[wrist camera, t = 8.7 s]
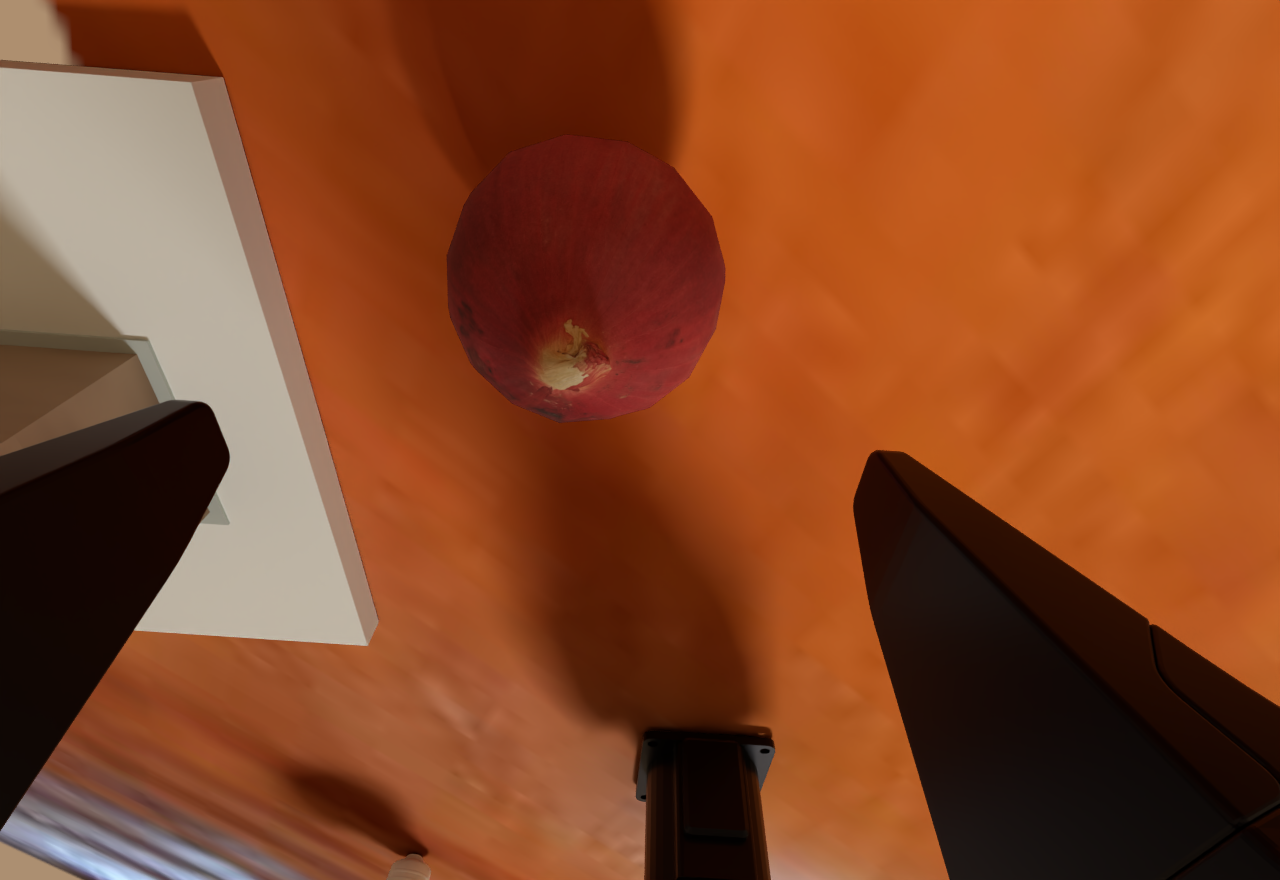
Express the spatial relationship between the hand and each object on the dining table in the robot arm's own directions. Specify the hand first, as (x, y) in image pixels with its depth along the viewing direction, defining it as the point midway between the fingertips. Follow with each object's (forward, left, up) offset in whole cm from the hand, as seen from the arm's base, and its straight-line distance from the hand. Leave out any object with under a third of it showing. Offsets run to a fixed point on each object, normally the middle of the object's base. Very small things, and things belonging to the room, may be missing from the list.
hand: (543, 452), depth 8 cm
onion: (0, 0, -10) cm, 10 cm away
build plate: (-7, +16, -10) cm, 20 cm away
